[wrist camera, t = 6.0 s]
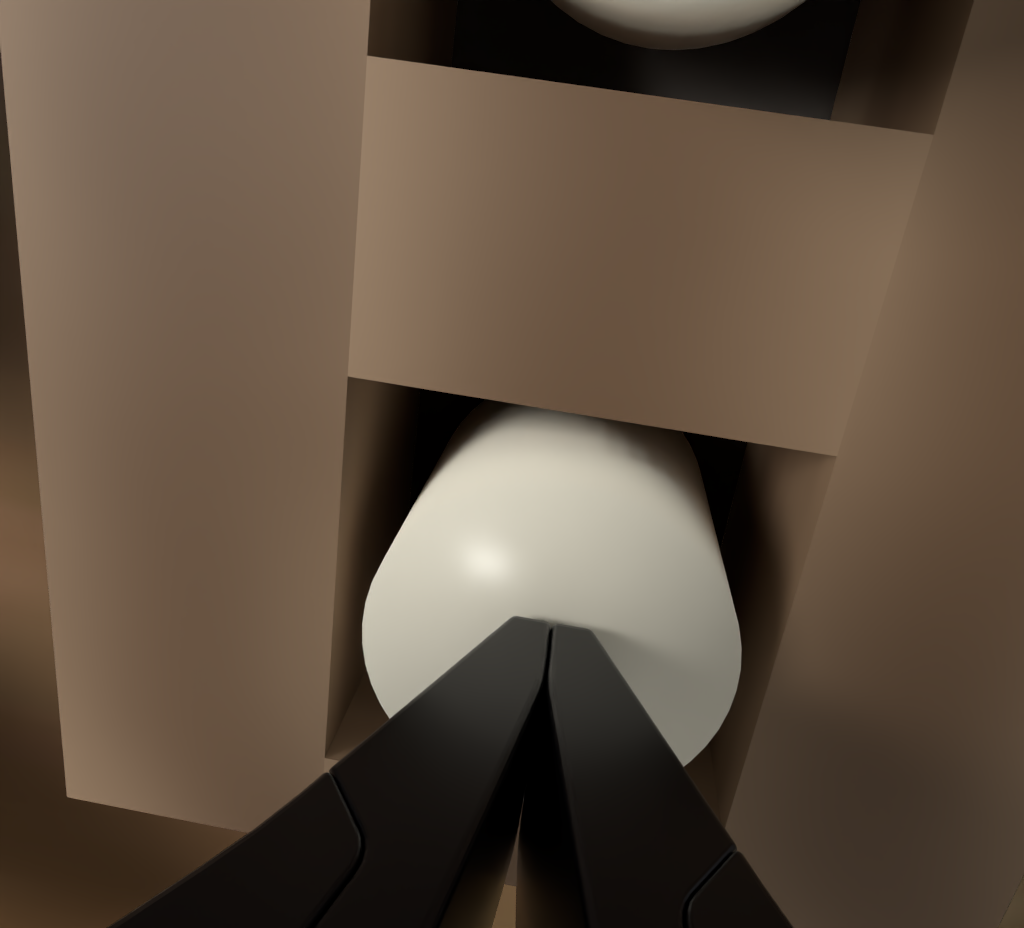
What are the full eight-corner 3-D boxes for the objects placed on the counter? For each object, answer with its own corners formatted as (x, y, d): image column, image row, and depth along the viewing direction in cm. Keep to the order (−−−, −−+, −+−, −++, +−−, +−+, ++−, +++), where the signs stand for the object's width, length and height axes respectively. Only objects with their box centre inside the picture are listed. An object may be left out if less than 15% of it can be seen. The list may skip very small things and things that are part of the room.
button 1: (732, 398, 12) (785, 519, 8) (673, 638, 13) (695, 835, 9) (450, 353, 12) (376, 450, 8) (424, 594, 13) (351, 768, 10)
